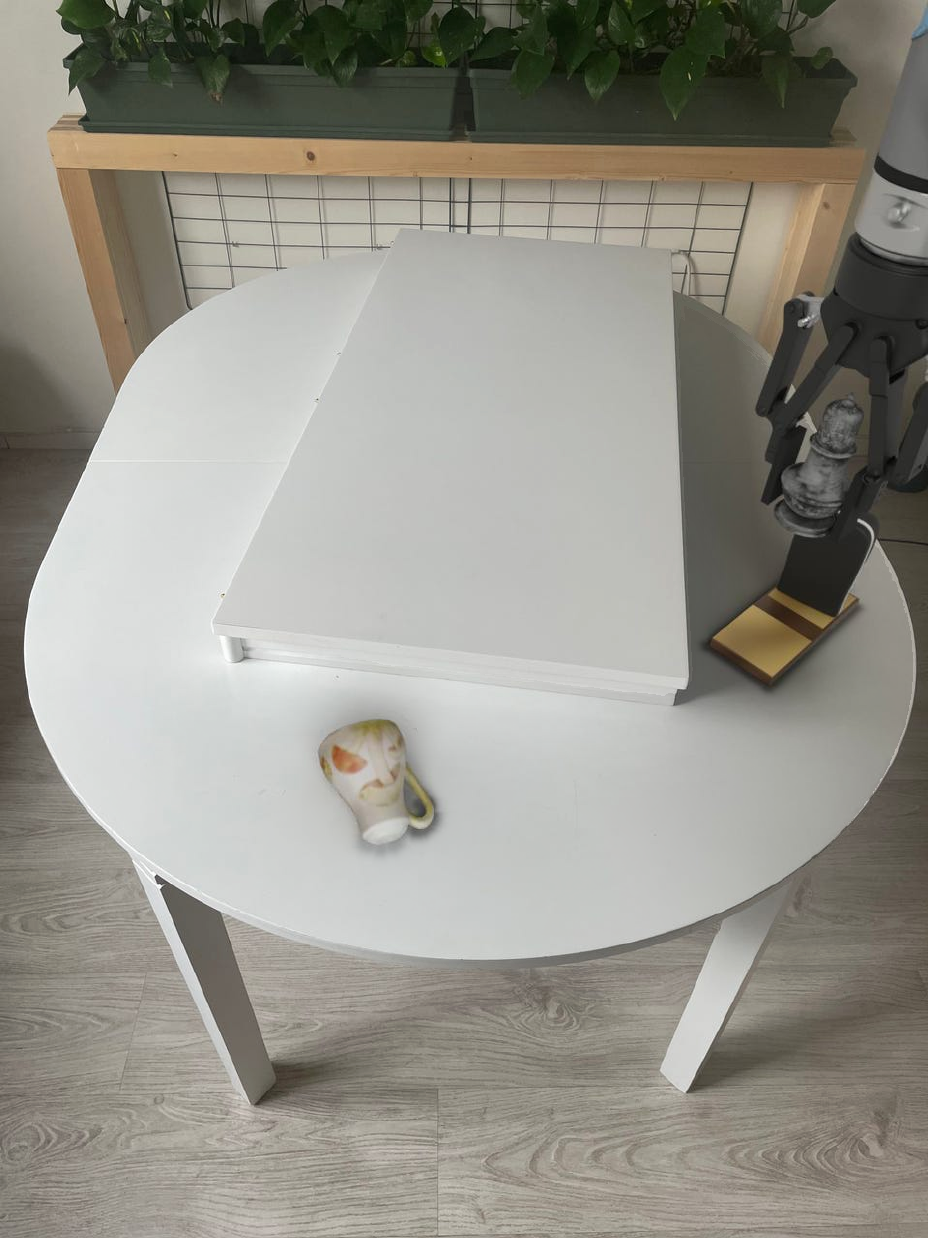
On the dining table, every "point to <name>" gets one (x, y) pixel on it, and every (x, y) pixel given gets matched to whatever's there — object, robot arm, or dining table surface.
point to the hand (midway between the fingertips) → (806, 514)
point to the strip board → (775, 634)
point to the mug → (373, 778)
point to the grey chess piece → (821, 473)
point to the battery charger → (828, 566)
